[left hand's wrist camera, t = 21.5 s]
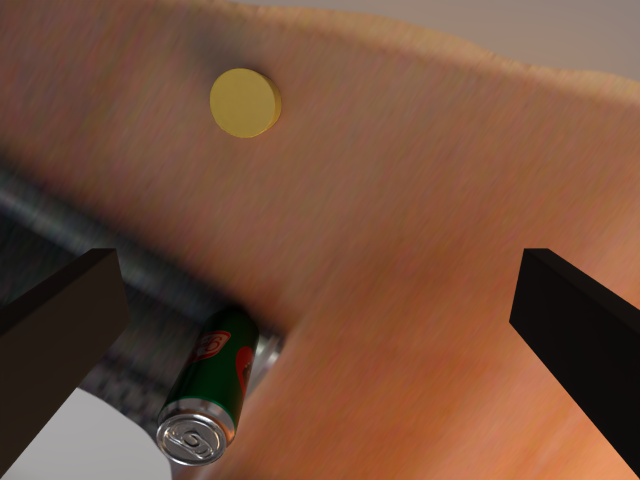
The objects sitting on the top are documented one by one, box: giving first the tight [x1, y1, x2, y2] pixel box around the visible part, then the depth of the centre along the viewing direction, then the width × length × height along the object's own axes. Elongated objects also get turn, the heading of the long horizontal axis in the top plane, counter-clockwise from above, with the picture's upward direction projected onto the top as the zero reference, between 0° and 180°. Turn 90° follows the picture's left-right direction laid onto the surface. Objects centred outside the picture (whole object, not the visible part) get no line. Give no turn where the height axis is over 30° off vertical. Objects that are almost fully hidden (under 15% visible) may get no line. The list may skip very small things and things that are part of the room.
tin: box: [209, 68, 282, 138], centre depth 26 cm, size 4×4×5 cm
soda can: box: [157, 310, 259, 466], centre depth 29 cm, size 5×5×12 cm
